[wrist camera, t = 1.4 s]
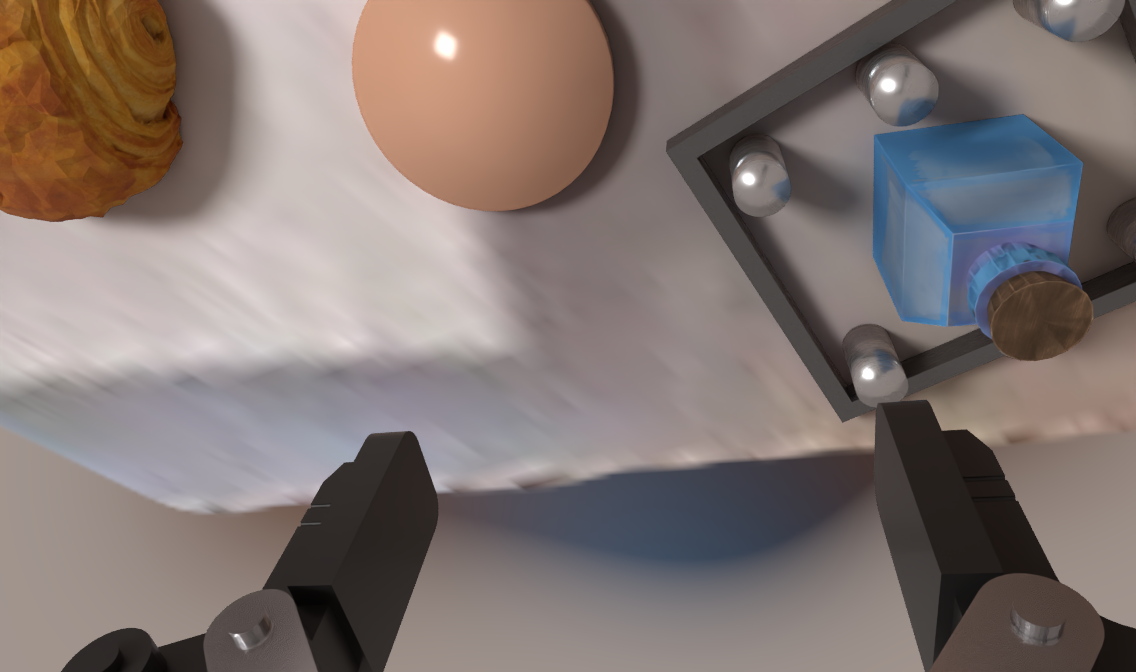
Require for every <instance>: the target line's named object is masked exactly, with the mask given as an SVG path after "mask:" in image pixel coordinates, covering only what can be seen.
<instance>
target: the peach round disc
mask: <svg viewBox="0 0 1136 672" xmlns="http://www.w3.org/2000/svg"><path fill="white" fill-rule="evenodd" d="M352 74H353V83H354V89H355V95H356V99H357V102H358V106H359V109H360V112H361V115H362V117H363V119H364V122H365V124H366V126H367V129H368V131H369V132H370V134H371V136H372V138H373V139H374V141H375V143H376V144H377V146H378V147H379V149H380V150H381V151H382V153H383V154H384V155H385V157H386V158H387V159H388V160H389V161H390V162H391V164H392V165H393V166H394V167H395V168H396V169H397V170H398V171H399V172H400V173H401V174H402V175H404V176H405V177H406V178H407V179H408V180H409V181H410V182H412V183H413V184H415V185H416V186H418V187H419V188H421V189H422V190H423V191H425V192H427V193H429V194H431V195H433V196H434V197H436V198H438V199H441V200H443V201H446V202H448V203H451V204H453V205H457V206H461V207H464V208H468V209H474V210H481V211H506V210H515V209H519V208H524V207H528V206H531V205H534V204H536V203H539V202H542V201H544V200H546V199H548V198H550V197H552V196H553V195H555V194H557V193H559V192H560V191H561V190H563V189H564V188H565V187H567V186H568V185H569V184H571V183H572V182H573V181H574V180H575V179H576V178H577V177H578V176H579V175H580V174H581V173H582V172H583V170H584V169H585V168H586V166H587V165H588V164H589V163H590V161H591V160H592V158H593V156H594V155H595V153H596V151H597V150H598V148H599V146H600V144H601V141H602V139H603V136H604V134H605V132H606V128H607V125H608V121H609V117H610V114H611V110H612V105H613V97H614V65H613V57H612V52H611V48H610V44H609V41H608V37H607V34H606V32H605V29H604V27H603V24H602V22H601V19H600V18H599V16H598V14H597V12H596V10H595V9H594V7H593V5H592V3H591V2H590V0H368V1H367V3H366V5H365V7H364V9H363V11H362V14H361V17H360V20H359V22H358V25H357V29H356V33H355V38H354V43H353V54H352Z"/></svg>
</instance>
